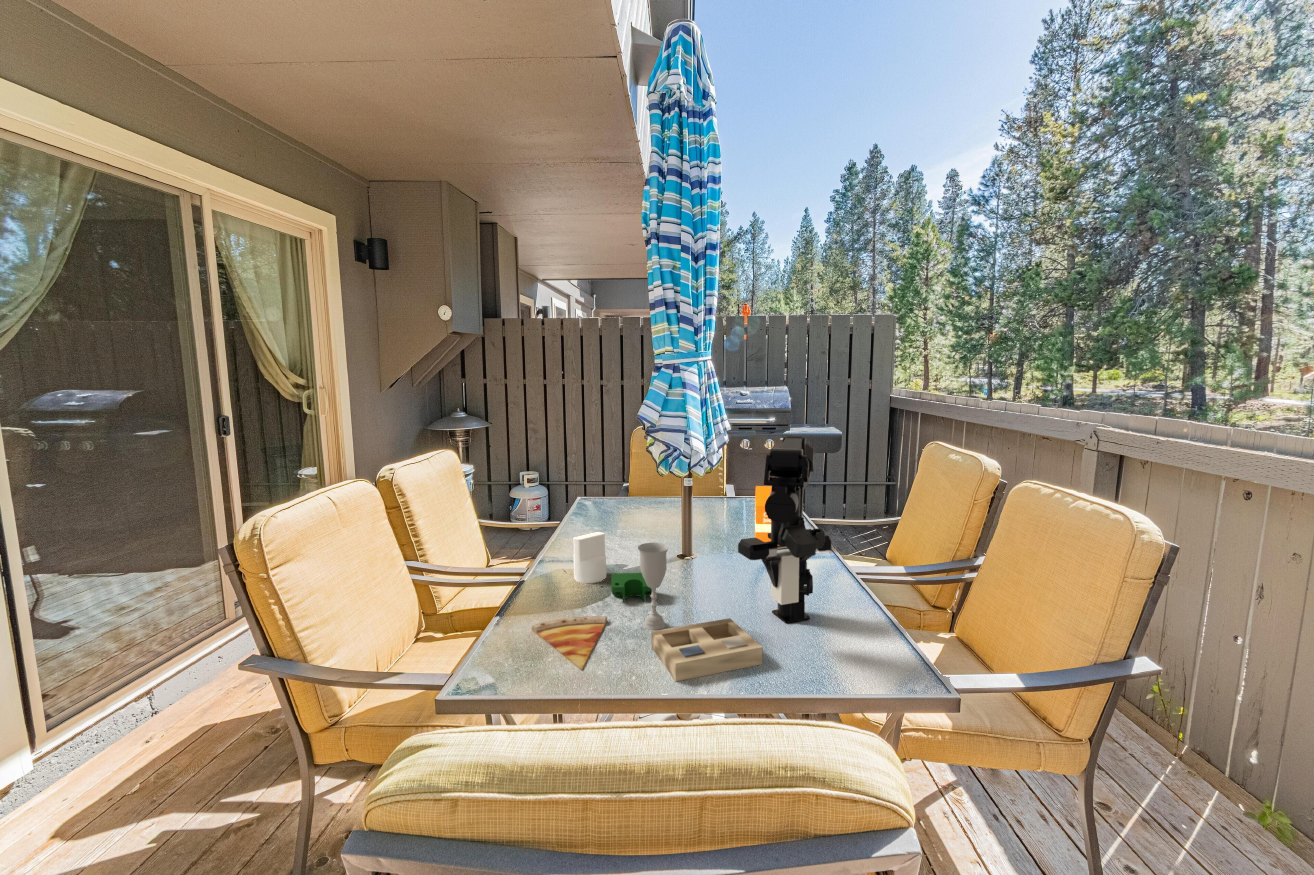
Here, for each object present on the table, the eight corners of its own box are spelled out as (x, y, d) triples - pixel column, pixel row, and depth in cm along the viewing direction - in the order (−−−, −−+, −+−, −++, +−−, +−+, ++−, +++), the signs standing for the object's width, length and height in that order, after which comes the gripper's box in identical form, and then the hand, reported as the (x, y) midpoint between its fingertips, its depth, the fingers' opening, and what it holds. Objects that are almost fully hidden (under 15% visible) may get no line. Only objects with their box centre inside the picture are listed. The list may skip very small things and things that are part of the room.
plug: (771, 597, 119) (771, 550, 118) (787, 595, 120) (788, 548, 119) (781, 604, 115) (781, 556, 114) (798, 602, 116) (799, 554, 115)
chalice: (634, 621, 132) (632, 544, 130) (661, 615, 134) (660, 541, 132) (646, 634, 125) (645, 554, 123) (674, 628, 128) (673, 549, 126)
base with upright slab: (586, 585, 154) (584, 542, 153) (567, 577, 161) (566, 535, 159) (612, 577, 160) (611, 535, 158) (594, 569, 167) (593, 529, 165)
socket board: (651, 647, 119) (651, 630, 119) (730, 633, 125) (730, 616, 124) (675, 681, 106) (675, 662, 105) (762, 664, 112) (762, 645, 111)
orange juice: (754, 543, 190) (755, 483, 187) (782, 544, 188) (782, 484, 186) (755, 550, 182) (755, 488, 180) (783, 551, 181) (784, 488, 179)
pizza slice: (503, 668, 112) (503, 659, 112) (541, 620, 134) (541, 611, 134) (581, 673, 110) (581, 663, 110) (607, 623, 132) (607, 614, 132)
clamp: (619, 617, 144) (604, 590, 141) (620, 602, 150) (605, 576, 147) (663, 600, 143) (649, 572, 140) (662, 586, 149) (648, 558, 145)
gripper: (764, 525, 105) (764, 607, 107) (850, 515, 111) (848, 593, 113) (736, 511, 116) (736, 586, 117) (816, 503, 122) (814, 574, 123)
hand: (784, 585), depth 117 cm, fingers closed on plug, 4 cm apart
